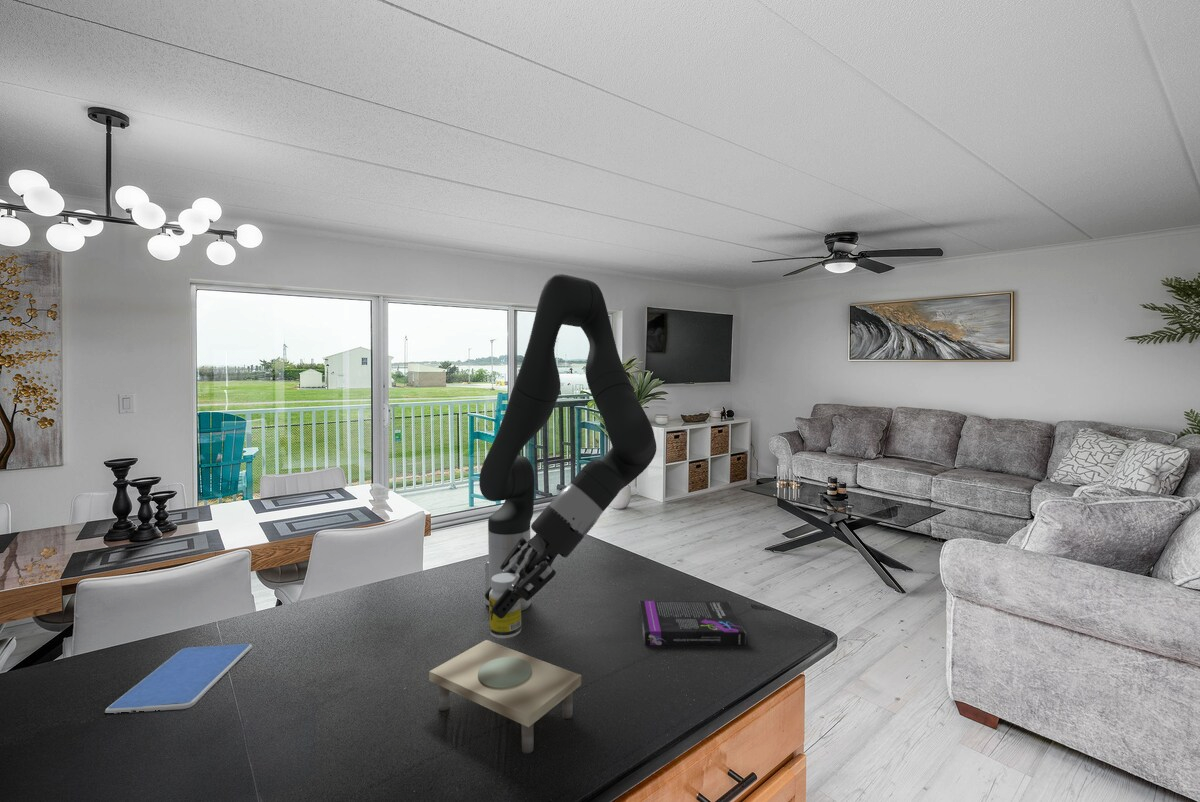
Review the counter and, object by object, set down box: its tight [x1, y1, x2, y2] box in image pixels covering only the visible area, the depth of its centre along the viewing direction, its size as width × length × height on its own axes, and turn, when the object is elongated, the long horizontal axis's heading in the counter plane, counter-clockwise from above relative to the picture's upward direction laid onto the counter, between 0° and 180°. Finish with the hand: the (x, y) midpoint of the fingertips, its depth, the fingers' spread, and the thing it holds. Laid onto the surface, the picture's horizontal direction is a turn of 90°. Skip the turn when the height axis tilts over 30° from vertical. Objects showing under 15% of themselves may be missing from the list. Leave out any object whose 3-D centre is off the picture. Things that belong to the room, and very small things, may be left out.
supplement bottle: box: [488, 573, 522, 639], centre depth 83 cm, size 5×5×8 cm
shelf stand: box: [428, 639, 582, 754], centre depth 84 cm, size 20×12×6 cm, turn 56°
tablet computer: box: [104, 643, 253, 714], centre depth 93 cm, size 19×13×1 cm, turn 7°
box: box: [638, 600, 747, 646], centre depth 111 cm, size 14×4×20 cm
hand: (492, 606), depth 82 cm, fingers closed on supplement bottle, 4 cm apart
